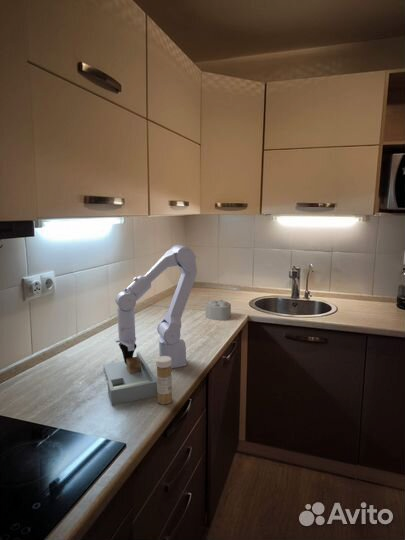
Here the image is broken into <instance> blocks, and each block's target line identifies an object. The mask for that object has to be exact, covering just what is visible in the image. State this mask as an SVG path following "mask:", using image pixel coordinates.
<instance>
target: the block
mask: <svg viewBox="0 0 405 540" xmlns="http://www.w3.org/2000/svg"><path fill="white" fill-rule="evenodd" d="M126 363H127V371H128V372H129V374H133V373H138V372H141V360H140V359H139V357H138V356H137V355H136V356H133V357H132V358H127V359H126Z"/></svg>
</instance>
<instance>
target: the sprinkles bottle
mask: <svg viewBox="0 0 405 540" xmlns="http://www.w3.org/2000/svg"><path fill="white" fill-rule="evenodd" d="M155 366H156V380H157V391H158V395H157V403H159V404H160V405H168V404H171V403H172V401H173V375H172V368H171V366H172V359H171V357H169V356H160V357H159V356H158V357H156V359H155Z"/></svg>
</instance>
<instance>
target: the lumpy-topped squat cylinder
mask: <svg viewBox="0 0 405 540" xmlns="http://www.w3.org/2000/svg"><path fill="white" fill-rule="evenodd" d="M231 306H232V305H231V303H230V302H228V301H224V300H223V299H218V300H216V299H212V300H210V301H207V302H206V303H205V318H206V319H208V320H212V321H218V322H219V321H220V322H222V321H223V322H224V321H228V320H229V319H230V318H231V316H232V311H231V310H232V307H231Z"/></svg>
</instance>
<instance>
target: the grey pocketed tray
mask: <svg viewBox="0 0 405 540" xmlns="http://www.w3.org/2000/svg"><path fill="white" fill-rule="evenodd" d="M137 356H138V357H139V359H140V360H141V372H138V373H133V374H129V372H128V371H127V364H125V361H124V360H123V361H117V362H110V363H106V364H103V365H102V366H103V367H102V368H103V372H104V374H105V378H106V382H107V394H108V398H109V401H110V404H111V406H113V405H119V404H123V403H128V402H133V401H138V400H142V399H147V398H151V397H158V391H157V377H155V375H154V374H153V372H152V370H151V369H150V367H149V366H148V364H147V362H146V361H145V359H144V357H143V356H142V354H141V352H139V351H137V352H136V357H137Z"/></svg>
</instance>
